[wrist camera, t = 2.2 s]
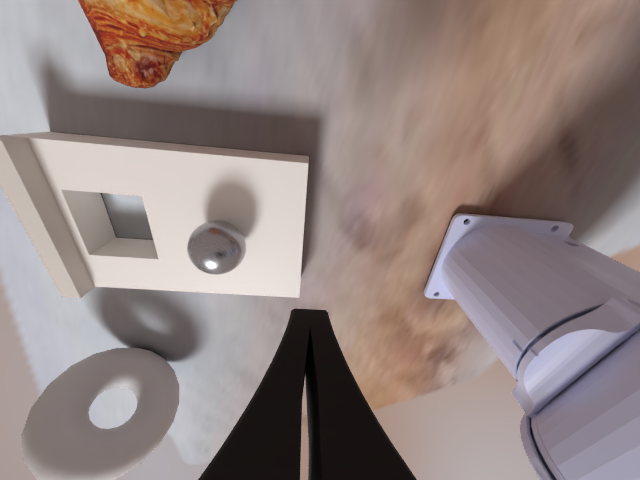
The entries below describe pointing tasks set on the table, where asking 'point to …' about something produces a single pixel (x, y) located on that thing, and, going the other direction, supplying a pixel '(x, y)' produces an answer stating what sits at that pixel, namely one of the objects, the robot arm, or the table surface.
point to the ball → (216, 247)
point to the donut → (79, 432)
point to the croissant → (151, 34)
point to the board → (155, 211)
